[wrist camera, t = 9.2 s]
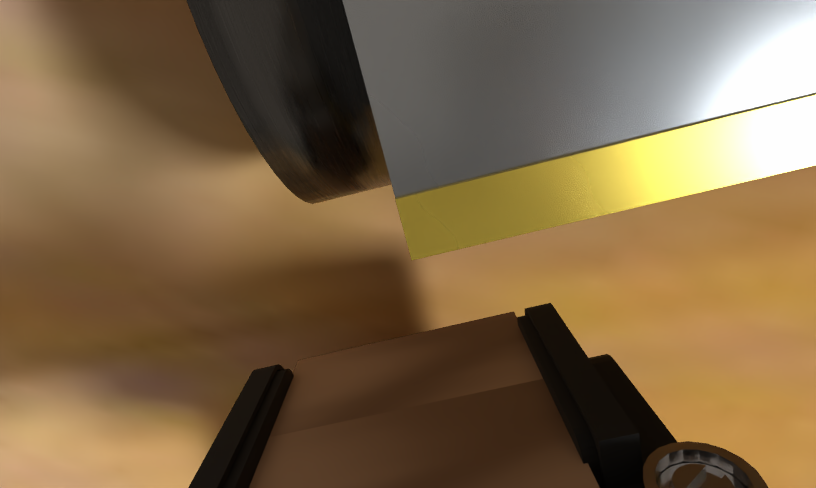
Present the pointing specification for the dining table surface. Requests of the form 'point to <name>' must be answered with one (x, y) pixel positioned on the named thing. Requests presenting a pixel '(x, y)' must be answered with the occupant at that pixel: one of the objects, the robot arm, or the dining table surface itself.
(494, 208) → the trolley
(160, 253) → the dining table surface
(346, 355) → the block
